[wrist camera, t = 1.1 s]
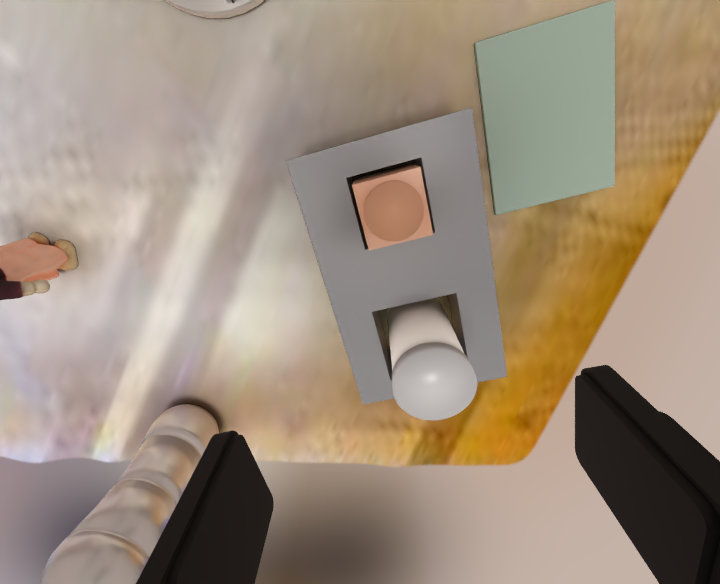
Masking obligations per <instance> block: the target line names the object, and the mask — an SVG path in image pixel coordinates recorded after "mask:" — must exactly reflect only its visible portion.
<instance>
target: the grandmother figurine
mask: <svg viewBox="0 0 720 584" xmlns="http://www.w3.org/2000/svg"><path fill="white" fill-rule="evenodd" d="M77 266H78V260H77V256H76V251H75V247H74V246H73V244H72V243H71V242H69V241H66V240H58V241H57V242H56V243H55V244H54V246H51V245H49V241H48V239H47V238H46V237H45V236H44V235H42V234H40V233H37V232H35V233H32V234H31V235H30V236H29V237H28V239H22V240H19V241H16V242H13V243H10V244H7V245H3V246H0V300H4V299H15V298H20V297H23V296H27V295H32V294H34V293H45V292H47V291H48V290H49V289H50V285H49V283H48V282H47V281H48V280H51V279H53V278H56V277H58V276H59V272H58V271H57V269H62V270H74V269H75V268H77Z"/></svg>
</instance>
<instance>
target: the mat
mask: <svg viewBox="0 0 720 584" xmlns="http://www.w3.org/2000/svg"><path fill="white" fill-rule="evenodd" d="M474 50H475V58H476V66H477V74H478V83H479V91H480V99H481V107H482V115H483V124H484V132H485V140H486V148H487V157H488V165H489V173H490V181H491V190H492V198H493V206H494V214H495V215H499V214H503V213H507V212H511V211H515V210H519V209H523V208H527V207H531V206H535V205H539V204H543V203H547V202H551V201H555V200H559V199H563V198H567V197H571V196H575V195H579V194H583V193H587V192H591V191H595V190H600V189H604V188H608V187H612V186H615V0H612V1H609V2H606V3H603V4H599V5H596V6H593V7H590V8H586V9H583V10H580V11H577V12H573V13H570V14H567V15H564V16H560V17H557V18H554V19H551V20H547V21H544V22H541V23H538V24H534V25H531V26H528V27H525V28H521V29H518V30H515V31H512V32H508V33H505V34H502V35H499V36H495V37H492V38H489V39H486V40H482V41H479V42H476V43H475V44H474Z"/></svg>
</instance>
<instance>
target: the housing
mask: <svg viewBox="0 0 720 584" xmlns="http://www.w3.org/2000/svg"><path fill="white" fill-rule="evenodd" d="M410 160H414V165H417V166H420V167H421V172H422V178H423V183H424V188H425V193H426V199H427V204H428V209H429V215H430V220H431V225H432V231H433V235H431V236H427V237H423V238H418V239H414V240H410V241H406V242H402V243H398V244H394V245H390V246H386V247H382V248H378V249H374V250H370V251H369V249H368V245H367V241H366V238H365V234H364V230H363V226H362V222H361V218H360V214H359V211H358V207H357V203H356V199H355V195H354V191H353V187H352V184H353V182H352V179H351V176H355V175H359V174H362V173H366V172H369V171H373V170H377V169H380V168H384V167H388V166H391V165H395V164H399V163H402V162H406V161H410ZM286 164H287V167H288V170H289V173H290V176H291V179H292V182H293V186H294V189H295V192H296V195H297V198H298V201H299V204H300V208H301V211H302V214H303V217H304V220H305V223H306V226H307V230H308V233H309V236H310V239H311V242H312V245H313V248H314V252H315V255H316V258H317V261H318V264H319V267H320V271H321V274H322V277H323V280H324V283H325V286H326V289H327V293H328V296H329V299H330V302H331V305H332V308H333V311H334V315H335V318H336V321H337V324H338V327H339V330H340V333H341V337H342V340H343V343H344V346H345V349H346V352H347V355H348V359H349V362H350V365H351V368H352V371H353V374H354V377H355V381H356V384H357V387H358V390H359V393H360V396H361V399H362V403H363V404H368V403H373V402H378V401H383V400H388V399H394V395H393V388H392V362H391V351H390V349H388V347H387V344H386V340H385V336H384V332H383V329H382V325H381V321H380V317H379V314H378V310H383V309H387V308H392V307H396V306H401V305H405V304H409V303H414V302H418V301H423V300H427V299H432V298H436V297H441V296H445V295H448V298H449V304H450V309H451V315H452V320H453V325H454V331H455V334H456V336H457V339H458V341H459V343H460V345H461V347H462V349H463V352H464V354H465V355H466V356H467V358H468V359H469V361H470V363H471V365H472V367H473V369H474V372H475V374H476V378H477V382H482V381H487V380H492V379H497V378H502V377H507V372H506V364H505V356H504V349H503V341H502V333H501V326H500V318H499V310H498V303H497V295H496V287H495V280H494V272H493V264H492V256H491V249H490V241H489V233H488V226H487V218H486V210H485V203H484V195H483V187H482V180H481V172H480V164H479V157H478V149H477V141H476V134H475V126H474V118H473V111H472V108H469V109H465V110H462V111H458V112H455V113H451V114H448V115H444V116H441V117H437V118H434V119H430V120H427V121H423V122H420V123H416V124H413V125H409V126H406V127H402V128H399V129H395V130H392V131H388V132H385V133H381V134H378V135H374V136H371V137H367V138H364V139H360V140H357V141H353V142H350V143H346V144H343V145H339V146H336V147H332V148H329V149H325V150H322V151H318V152H315V153H311V154H308V155H304V156H301V157H297V158H294V159H290V160H287V161H286Z"/></svg>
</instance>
